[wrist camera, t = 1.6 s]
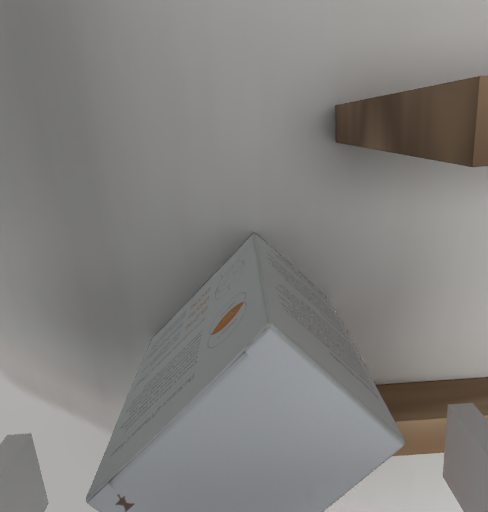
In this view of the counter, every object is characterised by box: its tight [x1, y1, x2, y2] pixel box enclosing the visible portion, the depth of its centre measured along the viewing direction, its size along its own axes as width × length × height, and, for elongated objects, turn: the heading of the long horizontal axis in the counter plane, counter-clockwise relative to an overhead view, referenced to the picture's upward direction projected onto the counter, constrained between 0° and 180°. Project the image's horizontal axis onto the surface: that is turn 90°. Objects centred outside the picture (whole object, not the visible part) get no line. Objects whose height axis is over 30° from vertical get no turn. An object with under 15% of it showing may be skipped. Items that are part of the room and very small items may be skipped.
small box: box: [86, 233, 405, 512], centre depth 17 cm, size 8×6×10 cm
